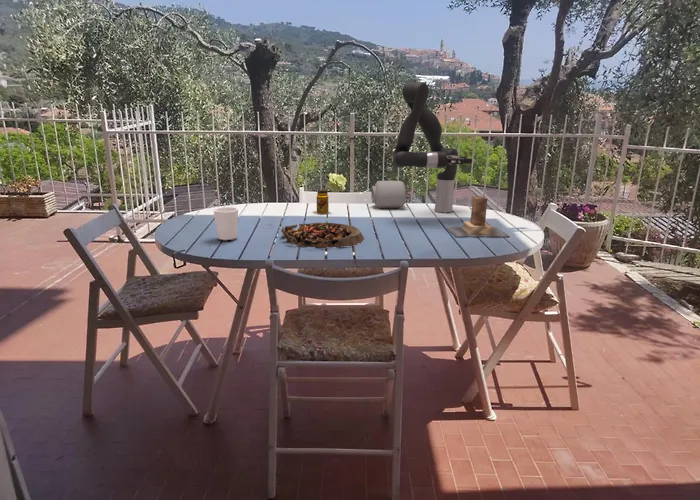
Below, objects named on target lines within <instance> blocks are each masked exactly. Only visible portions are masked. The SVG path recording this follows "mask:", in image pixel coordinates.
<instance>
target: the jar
mask: <svg viewBox="0 0 700 500" xmlns="http://www.w3.org/2000/svg"><path fill="white" fill-rule="evenodd" d="M369 190H370V189H368V190H367V189H366V191H367V192H368V191H369ZM366 191H364V192H365V193H366ZM360 194H363V192H360ZM370 194H371V203H373V204H375V207H376V208H378V209H396V211H397V209H402V208H404V207H405V204H406V194H407V190H406V185H405V183H404V181H402V180H377V182H375V185H371V193H370ZM365 201H367V199H365Z"/></svg>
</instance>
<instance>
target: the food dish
mask: <svg viewBox="0 0 700 500" xmlns="http://www.w3.org/2000/svg"><path fill="white" fill-rule="evenodd" d="M298 225H299V227H298ZM297 227H298V228H297ZM280 231H281V232H282V235H283V238H284V239H285V241H284V242H287V243H289V244H290V245H292V246H297V247H298V248H299V247H301V248H313V247H315V248H314V249H317V248H327V247H336V248H339V247H338V246H343V247H342V248H345V247H344V246H353V245H357V244H358V243H360V244H362V243H363V242H364V241H365V237H364V236H363V234H362V231H360V229H359V228H357V227H355V226H354V225H351V224H349V225H348V224H345V223H344V224H343V223H336V222H312V223H304V224H303V223H299V224H292V225H289V226H287V225H286V226H282V229H280ZM363 240H364V241H363ZM362 241H363V242H362ZM361 242H362V243H361ZM358 245H359V244H358ZM358 245H357V246H358ZM353 247H354V246H353ZM327 249H328V248H327Z"/></svg>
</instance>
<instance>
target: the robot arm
mask: <svg viewBox="0 0 700 500" xmlns="http://www.w3.org/2000/svg"><path fill="white" fill-rule="evenodd" d="M429 92H430V89H429V85H428V84H427V83H426V82H423V81H410V82H406V83H404V85H403V86H402V98H403V99H404V101H405V103H406V105H407V106H408V108H409V109H410V112H409V113H408V116H407V117H406V118H405V120H404V121H403V122H402V125H401V126H400V129H399V133H398V138H397V142H396V146H395V149H394V152H393V155H392V163H393V166H395V167H396V168H403V167H405V168H406V167H415V168H430V169H445V170H443V171H441V172H438V173H437V175H436V188H435V201H434V212H435V213H441V212H443V213H444V214H446V213H447V212H450V213H453V208H454V206H453V205H454V195H455V194H454V193H455V181H456V176H457V172H458V165H461V166H462V165H464V164H467V165H469V164H472V163H473V158H467V156H459V152H458V150H457V149H456V148H449V147H448V148H447V147H445V146H443V143H442V142H441V137H442V135H443V134H442V133H443V127H442V124H441V122H440V121H439V118H438V117H437V116H436V114H434V112H433V111H432V110H430V108H428V107H426V103H427V101H428V98H429V94H430V93H429ZM418 125H419V127H420V129H421V131H422V133H423V135H424V136H425V139H426V141H427V143H428V145H429V148H430V150H431V151H417V152H416V151H415V152H414V151H410V148H411V147H412V145H413V143H414V142H413V141H414V137H415V134H416V130H417V127H418ZM447 214H448V213H447Z"/></svg>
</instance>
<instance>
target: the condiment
mask: <svg viewBox="0 0 700 500" xmlns="http://www.w3.org/2000/svg"><path fill="white" fill-rule="evenodd" d="M316 193H317V194H316V210H314V211H313V212H314V213H315V214H316V215H318V216H319V214H320V215H331V214H332V213H331V212H330V211H329V194H328V190H327V189H317V192H316Z"/></svg>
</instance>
